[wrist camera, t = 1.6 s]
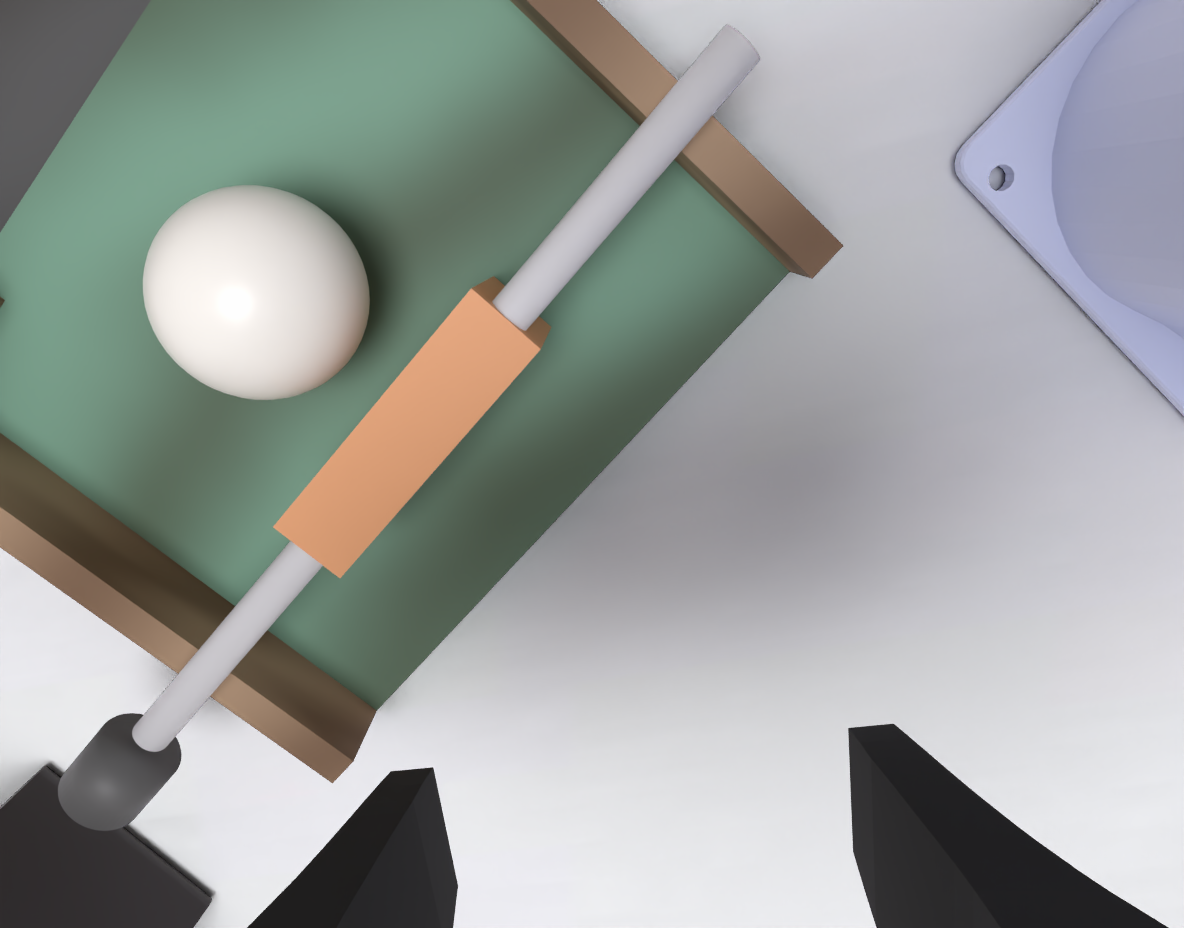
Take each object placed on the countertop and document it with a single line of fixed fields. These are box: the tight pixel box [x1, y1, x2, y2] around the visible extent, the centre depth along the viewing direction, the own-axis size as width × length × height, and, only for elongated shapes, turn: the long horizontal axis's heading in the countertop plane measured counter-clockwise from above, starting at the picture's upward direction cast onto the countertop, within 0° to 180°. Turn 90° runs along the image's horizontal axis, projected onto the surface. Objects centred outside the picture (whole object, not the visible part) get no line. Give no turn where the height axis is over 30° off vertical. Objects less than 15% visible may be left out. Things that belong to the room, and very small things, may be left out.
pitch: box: [0, 0, 843, 783], centre depth 17 cm, size 22×16×3 cm
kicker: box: [58, 25, 760, 831], centre depth 17 cm, size 2×20×3 cm, turn 138°
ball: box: [143, 185, 370, 400], centre depth 16 cm, size 4×4×4 cm
